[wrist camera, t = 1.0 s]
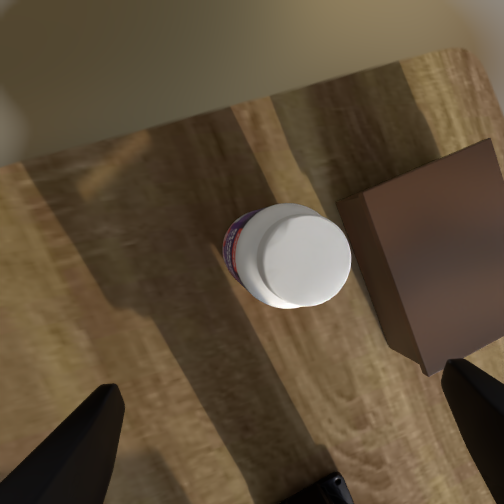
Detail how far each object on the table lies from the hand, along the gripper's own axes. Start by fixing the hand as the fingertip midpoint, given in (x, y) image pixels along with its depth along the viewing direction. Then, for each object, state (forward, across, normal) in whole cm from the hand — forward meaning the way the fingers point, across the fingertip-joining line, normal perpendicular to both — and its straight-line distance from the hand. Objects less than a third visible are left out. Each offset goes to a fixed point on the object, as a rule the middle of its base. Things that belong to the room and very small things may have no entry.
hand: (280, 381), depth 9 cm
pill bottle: (+15, 0, +4) cm, 15 cm away
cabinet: (+16, -11, +6) cm, 21 cm away
